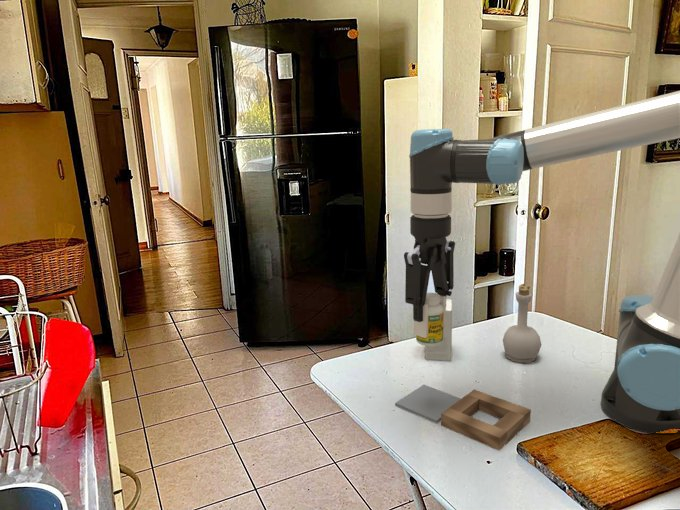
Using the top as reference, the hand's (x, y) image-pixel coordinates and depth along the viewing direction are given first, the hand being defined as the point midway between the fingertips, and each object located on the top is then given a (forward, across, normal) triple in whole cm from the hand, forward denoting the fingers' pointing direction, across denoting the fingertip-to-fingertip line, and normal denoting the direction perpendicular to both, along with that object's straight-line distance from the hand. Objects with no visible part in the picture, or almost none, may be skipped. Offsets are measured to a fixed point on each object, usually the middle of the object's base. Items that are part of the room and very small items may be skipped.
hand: (430, 330), depth 103 cm
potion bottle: (+16, -32, +4) cm, 36 cm away
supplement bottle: (+2, 0, 0) cm, 3 cm away
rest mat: (+16, 0, 0) cm, 16 cm away
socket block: (+16, -1, +12) cm, 20 cm away
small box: (+16, -21, -12) cm, 29 cm away
